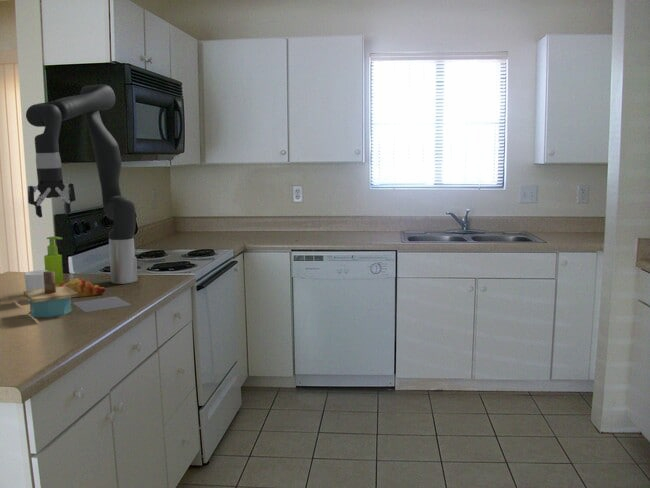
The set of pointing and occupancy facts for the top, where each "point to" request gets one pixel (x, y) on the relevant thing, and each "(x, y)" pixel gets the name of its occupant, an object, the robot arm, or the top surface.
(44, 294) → the lid
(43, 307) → the bowl
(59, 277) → the soap dispenser
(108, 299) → the mat
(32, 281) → the white cup
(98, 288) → the croissant
